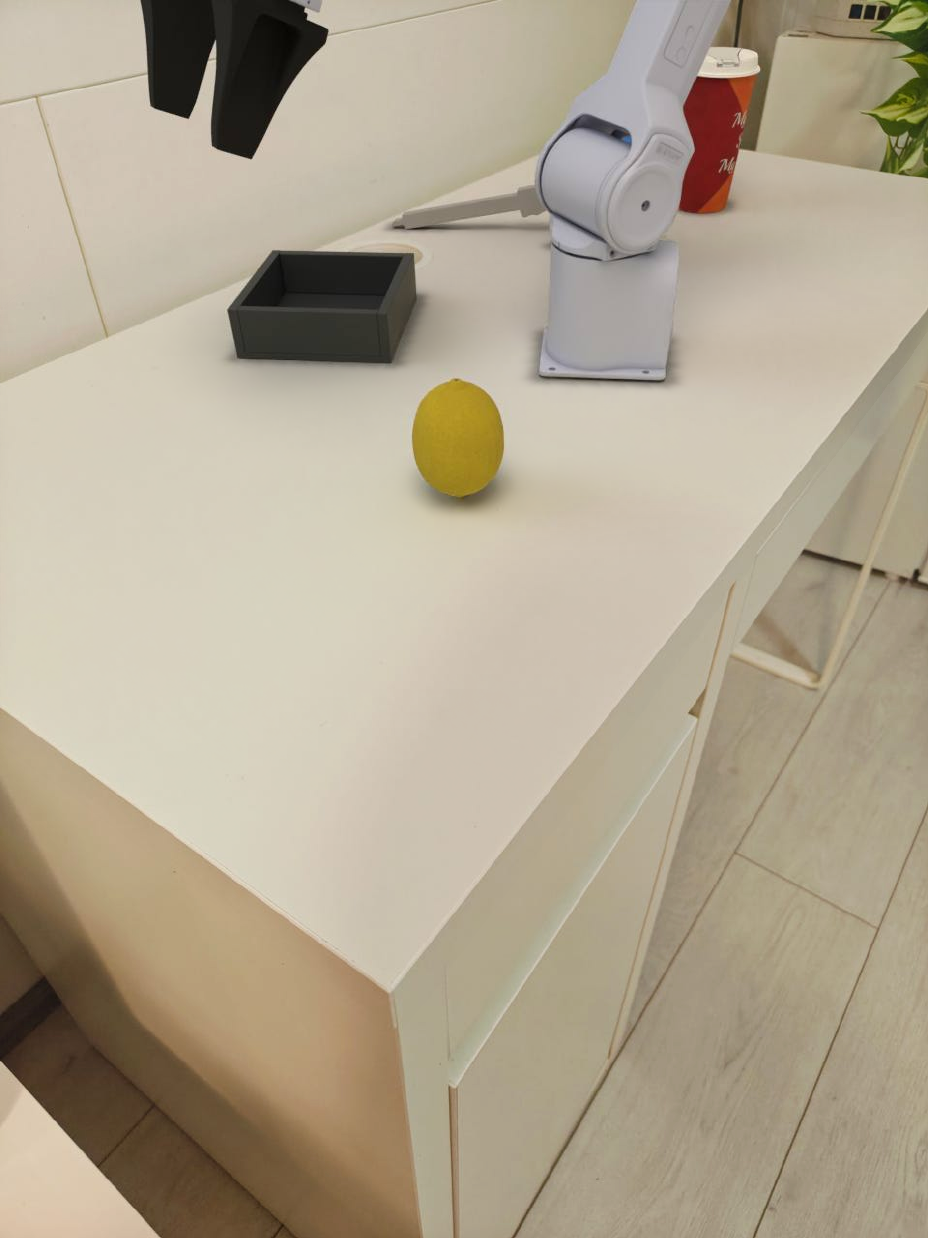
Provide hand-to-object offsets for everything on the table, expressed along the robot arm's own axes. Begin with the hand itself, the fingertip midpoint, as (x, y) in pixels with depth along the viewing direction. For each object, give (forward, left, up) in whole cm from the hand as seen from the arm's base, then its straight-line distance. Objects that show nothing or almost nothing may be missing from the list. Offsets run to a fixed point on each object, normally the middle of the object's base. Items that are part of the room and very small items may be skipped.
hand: (199, 131), depth 47 cm
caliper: (-11, -43, -20) cm, 49 cm away
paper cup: (-33, -52, -20) cm, 65 cm away
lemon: (-14, +5, -20) cm, 25 cm away
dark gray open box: (0, -19, -19) cm, 27 cm away
